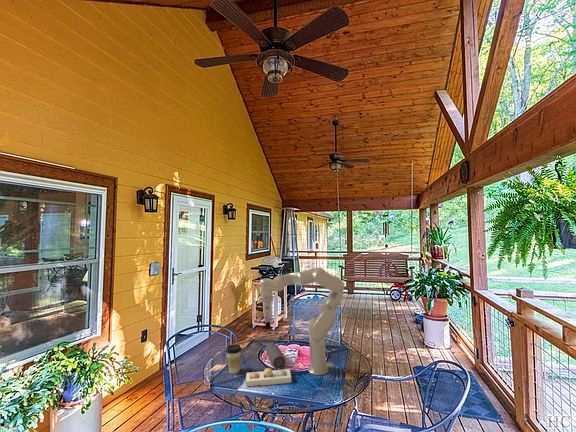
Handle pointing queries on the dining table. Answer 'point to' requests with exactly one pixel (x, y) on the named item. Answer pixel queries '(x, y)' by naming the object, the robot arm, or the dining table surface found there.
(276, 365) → the bluetooth speaker
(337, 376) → the dining table surface
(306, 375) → the dining table surface
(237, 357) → the coffee cup
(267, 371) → the button ochre
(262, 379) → the console
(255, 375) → the button terracotta
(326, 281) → the robot arm
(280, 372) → the button sage
